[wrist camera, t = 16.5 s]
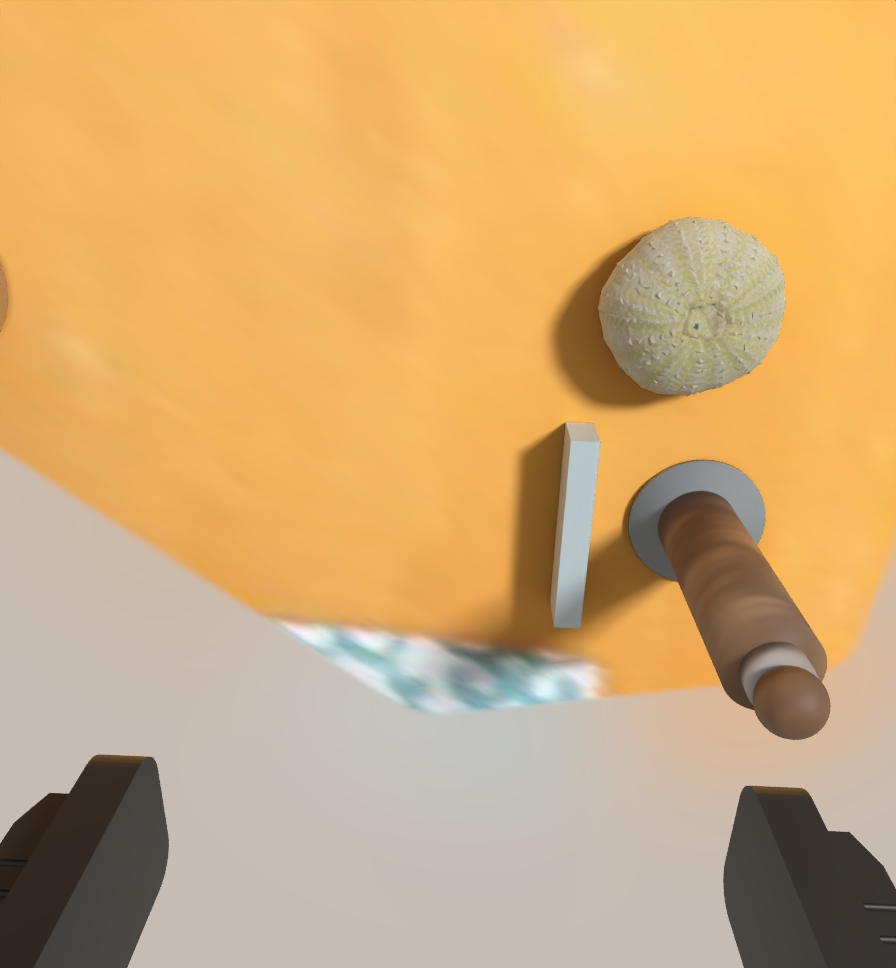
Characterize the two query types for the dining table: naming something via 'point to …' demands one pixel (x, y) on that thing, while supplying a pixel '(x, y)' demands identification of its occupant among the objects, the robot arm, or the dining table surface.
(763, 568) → the pepper mill
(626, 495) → the dining table surface
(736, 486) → the gray pad
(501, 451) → the dining table surface
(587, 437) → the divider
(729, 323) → the sea urchin shell
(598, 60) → the dining table surface
